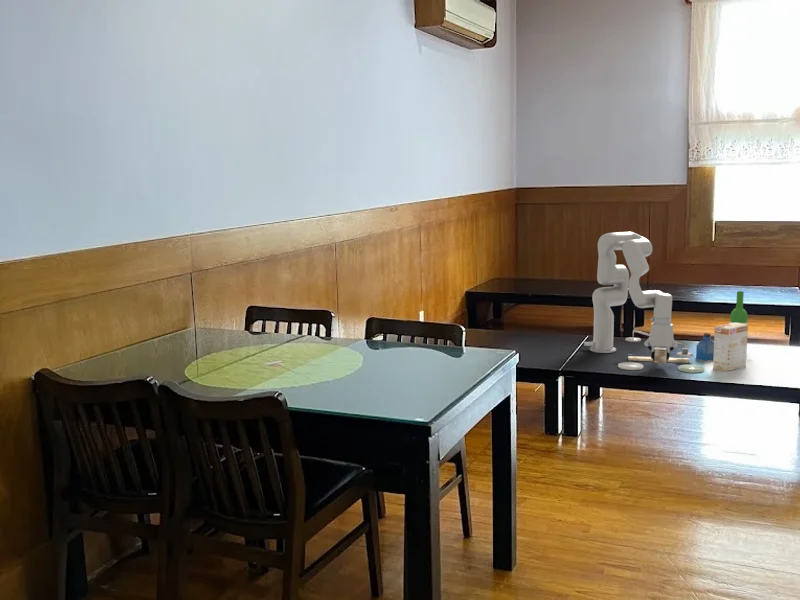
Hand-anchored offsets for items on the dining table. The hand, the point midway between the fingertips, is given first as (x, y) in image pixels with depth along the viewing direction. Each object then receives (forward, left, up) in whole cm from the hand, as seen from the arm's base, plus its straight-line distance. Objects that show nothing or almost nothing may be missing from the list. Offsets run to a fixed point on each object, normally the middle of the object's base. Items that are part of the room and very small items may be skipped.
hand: (659, 360), depth 360 cm
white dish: (-13, 0, -4) cm, 13 cm away
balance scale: (0, +15, -4) cm, 15 cm away
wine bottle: (+38, +38, -4) cm, 54 cm away
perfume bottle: (+22, +23, -4) cm, 32 cm away
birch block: (0, 0, -1) cm, 1 cm away
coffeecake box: (+30, +7, -4) cm, 31 cm away
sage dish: (+13, 0, -4) cm, 14 cm away
